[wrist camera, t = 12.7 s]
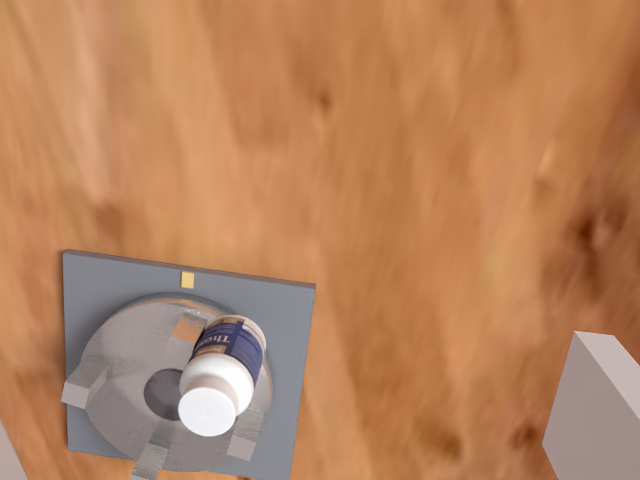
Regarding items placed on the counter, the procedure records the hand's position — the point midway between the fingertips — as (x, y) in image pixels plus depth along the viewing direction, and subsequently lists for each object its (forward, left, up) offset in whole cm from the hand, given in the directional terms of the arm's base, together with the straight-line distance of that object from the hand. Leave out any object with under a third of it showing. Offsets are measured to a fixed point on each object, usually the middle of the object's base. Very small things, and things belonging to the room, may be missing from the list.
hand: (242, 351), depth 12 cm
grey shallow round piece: (+25, -10, -34) cm, 43 cm away
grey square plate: (+25, -10, -35) cm, 44 cm away
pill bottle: (+19, -5, -32) cm, 37 cm away
